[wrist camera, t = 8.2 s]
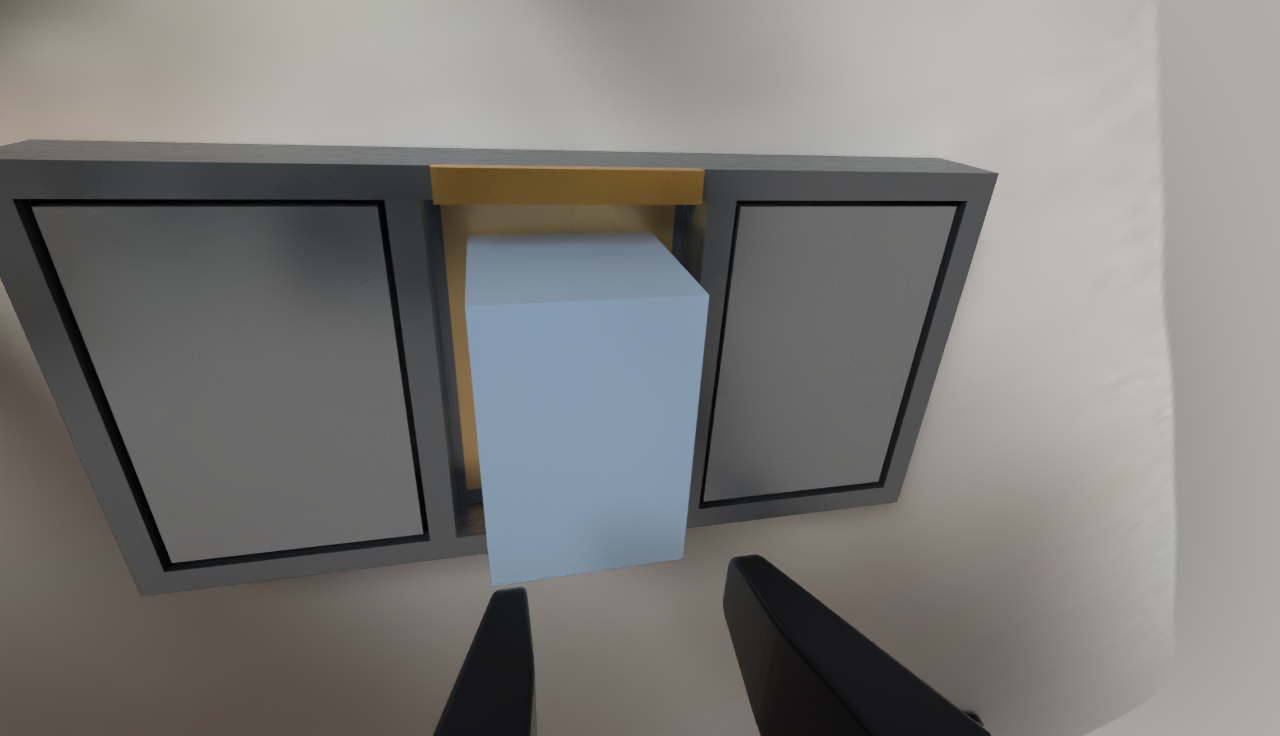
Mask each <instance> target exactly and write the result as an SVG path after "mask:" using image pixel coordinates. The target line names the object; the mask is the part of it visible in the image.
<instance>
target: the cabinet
mask: <svg viewBox="0 0 1280 736" xmlns="http://www.w3.org/2000/svg"><path fill="white" fill-rule="evenodd" d="M998 174H999V173H995V172H991V171H987V170H983V169H979V168H975V167H972V166H968V165H964V164H960V163H956V162H952V161H948V160H944V159H940V158H896V157H847V156H798V155H749V154H700V153H651V152H602V151H553V150H504V149H455V148H406V147H357V146H308V145H259V144H210V143H161V142H111V141H62V140H27V141H22V142H18V143H14V144H9V145H5V146H0V278H1V280H2V282H3V284H4V287H5V289H6V291H7V294H8V296H9V298H10V300H11V303H12V305H13V307H14V309H15V312H16V314H17V316H18V318H19V321H20V323H21V325H22V328H23V330H24V332H25V334H26V337H27V339H28V341H29V343H30V346H31V348H32V350H33V353H34V355H35V357H36V359H37V362H38V364H39V366H40V368H41V371H42V373H43V375H44V378H45V380H46V382H47V384H48V387H49V389H50V391H51V393H52V396H53V398H54V400H55V403H56V405H57V407H58V409H59V412H60V414H61V416H62V418H63V421H64V423H65V425H66V427H67V430H68V432H69V434H70V437H71V439H72V441H73V443H74V446H75V448H76V450H77V452H78V455H79V457H80V459H81V462H82V464H83V466H84V468H85V471H86V473H87V475H88V477H89V480H90V482H91V484H92V487H93V489H94V491H95V493H96V496H97V498H98V500H99V502H100V505H101V507H102V509H103V511H104V514H105V516H106V518H107V521H108V523H109V525H110V527H111V530H112V532H113V534H114V536H115V539H116V541H117V543H118V546H119V548H120V550H121V552H122V555H123V557H124V559H125V561H126V564H127V566H128V568H129V571H130V573H131V575H132V577H133V580H134V582H135V584H136V586H137V589H138V591H139V593H140V596H147V595H155V594H163V593H171V592H179V591H187V590H195V589H203V588H211V587H219V586H227V585H235V584H243V583H251V582H259V581H267V580H275V579H283V578H291V577H299V576H307V575H315V574H323V573H331V572H339V571H347V570H355V569H363V568H371V567H379V566H387V565H395V564H403V563H411V562H419V561H427V560H435V559H443V558H451V557H460V556H468V555H476V554H484V553H488V548H487V537H486V527H485V516H484V505H483V495H482V484H481V473H480V463H479V452H478V441H477V430H476V420H475V409H474V398H473V388H472V377H471V366H470V356H469V345H468V334H467V324H466V313H465V287H466V258H467V236H470V235H519V234H568V233H616V232H652V233H653V234H654V235H655V236H656V237H657V239H658V240H659V241H660V242H661V243H662V244H663V245H664V246H665V247H666V248H667V249H668V251H669V252H670V253H671V254H672V255H673V256H674V257H675V258H676V259H677V260H678V261H679V263H680V264H681V265H682V266H683V267H684V268H685V269H686V270H687V271H688V272H689V273H690V275H691V276H692V277H693V278H694V279H695V280H696V281H697V282H698V283H699V284H700V285H701V286H702V288H703V289H704V290H705V291H706V292H707V293H708V294H709V304H708V314H707V324H706V334H705V344H704V354H703V364H702V374H701V384H700V393H699V403H698V413H697V423H696V433H695V443H694V453H693V463H692V473H691V483H690V493H689V503H688V513H687V523H686V528H692V527H700V526H708V525H716V524H724V523H732V522H740V521H748V520H756V519H764V518H772V517H780V516H788V515H796V514H804V513H812V512H820V511H828V510H836V509H844V508H852V507H860V506H868V505H876V504H884V503H892V502H897V501H898V497H899V494H900V491H901V488H902V485H903V481H904V478H905V475H906V472H907V468H908V465H909V462H910V459H911V455H912V452H913V449H914V446H915V442H916V439H917V436H918V433H919V429H920V426H921V423H922V420H923V417H924V413H925V410H926V407H927V404H928V400H929V397H930V394H931V391H932V387H933V384H934V381H935V378H936V374H937V371H938V368H939V365H940V361H941V358H942V355H943V352H944V349H945V345H946V342H947V339H948V336H949V332H950V329H951V326H952V323H953V319H954V316H955V313H956V310H957V306H958V303H959V300H960V297H961V294H962V290H963V287H964V284H965V281H966V277H967V274H968V271H969V268H970V264H971V261H972V258H973V255H974V251H975V248H976V245H977V242H978V238H979V235H980V232H981V229H982V226H983V222H984V219H985V216H986V213H987V209H988V206H989V203H990V200H991V196H992V193H993V190H994V187H995V183H996V180H997V177H998Z"/></svg>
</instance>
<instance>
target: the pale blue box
mask: <svg viewBox="0 0 1280 736" xmlns="http://www.w3.org/2000/svg"><path fill="white" fill-rule="evenodd" d="M708 304H709V294H708V293H707V292H706V291H705V290H704V289H703V288H702V286H701V285H700V284H699V283H698V282H697V281H696V280H695V279H694V278H693V277H692V276H691V275H690V273H689V272H688V271H687V270H686V269H685V268H684V267H683V266H682V265H681V264H680V263H679V261H678V260H677V259H676V258H675V257H674V256H673V255H672V254H671V253H670V252H669V251H668V249H667V248H666V247H665V246H664V245H663V244H662V243H661V242H660V241H659V240H658V239H657V237H656V236H655V235H654V234H653V233H652V232H616V233H568V234H519V235H470V236H467V258H466V287H465V313H466V324H467V334H468V345H469V356H470V366H471V377H472V388H473V398H474V409H475V420H476V430H477V441H478V452H479V463H480V473H481V484H482V495H483V505H484V516H485V527H486V537H487V548H488V559H489V569H490V580H491V587H492V586H499V585H506V584H512V583H519V582H526V581H533V580H540V579H547V578H554V577H561V576H568V575H575V574H582V573H589V572H595V571H602V570H609V569H616V568H623V567H630V566H637V565H644V564H651V563H658V562H665V561H672V560H678V559H683V553H684V543H685V533H686V523H687V513H688V503H689V493H690V483H691V473H692V463H693V453H694V443H695V433H696V423H697V413H698V403H699V393H700V384H701V374H702V364H703V354H704V344H705V334H706V324H707V314H708Z"/></svg>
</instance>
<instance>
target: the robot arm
mask: <svg viewBox="0 0 1280 736" xmlns="http://www.w3.org/2000/svg"><path fill="white" fill-rule="evenodd" d="M723 609H724V615H725V619H726V622H727V625H728V629H729V632H730V636H731V639H732V643H733V646H734V649H735V653H736V656H737V660H738V663H739V667H740V670H741V674H742V677H743V680H744V684H745V687H746V691H747V694H748V698H749V701H750V704H751V708H752V711H753V714H754V717H755V720H756V724H757V726H758V729H759V731H760V734H761V736H991V734H990V733H989V732H988V731H987V730H986V729H985V728H983V725H984V724H983V722H982V721H981V720H980V718H979V717H978V716H977V714H968V715H966V714H965V713H964V712H963V711H961V710H960V709H959V708H957V707H956V706H955V705H954V704H952V703H951V702H950V701H948V700H947V699H946V698H944V697H943V696H942V695H941V694H939V693H938V692H937V691H935V690H934V689H933V688H932V687H930V686H929V685H928V684H926V683H925V682H924V681H922V680H921V679H920V678H919V677H917V676H916V675H915V674H913V673H912V672H911V671H910V670H908V669H907V668H906V667H904V666H903V665H902V664H900V663H899V662H898V661H897V660H895V659H894V658H893V657H891V656H890V655H889V654H888V653H886V652H885V651H884V650H882V649H881V648H880V647H878V646H877V645H876V644H875V643H873V642H872V641H871V640H869V639H868V638H867V637H866V636H864V635H863V634H862V633H860V632H859V631H858V630H856V629H855V628H854V627H853V626H851V625H850V624H849V623H847V622H846V621H845V620H844V619H842V618H841V617H840V616H838V615H837V614H836V613H834V612H833V611H832V610H831V609H829V608H828V607H827V606H825V605H824V604H823V603H822V602H820V601H819V600H818V599H816V598H815V597H814V596H812V595H811V594H810V593H809V592H807V591H806V590H805V589H803V588H802V587H801V586H800V585H798V584H797V583H796V582H794V581H793V580H792V579H790V578H789V577H788V576H787V575H785V574H784V573H783V572H781V571H780V570H779V569H778V568H776V567H775V566H774V565H772V564H771V563H770V562H768V561H767V560H766V559H765V558H763V557H761V556H759V555H748V556H740V557H735V558H732V559H731V561H730V562H729V566H728V571H727V578H726V584H725V590H724V596H723ZM433 736H537V719H536V692H535V667H534V653H533V644H532V635H531V626H530V616H529V607H528V598H527V591H526V589H525V588H523V587H517V588H510V589H502V590H497V591H496V592H494V594H493V595H492V597H491V599H490V601H489V604H488V606H487V608H486V611H485V613H484V616H483V618H482V620H481V623H480V625H479V627H478V630H477V632H476V634H475V637H474V639H473V642H472V644H471V646H470V649H469V651H468V653H467V656H466V658H465V661H464V663H463V665H462V668H461V670H460V672H459V675H458V677H457V679H456V682H455V684H454V687H453V689H452V691H451V694H450V696H449V698H448V701H447V703H446V705H445V708H444V710H443V713H442V715H441V717H440V720H439V722H438V724H437V727H436V729H435V731H434V734H433Z"/></svg>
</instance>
